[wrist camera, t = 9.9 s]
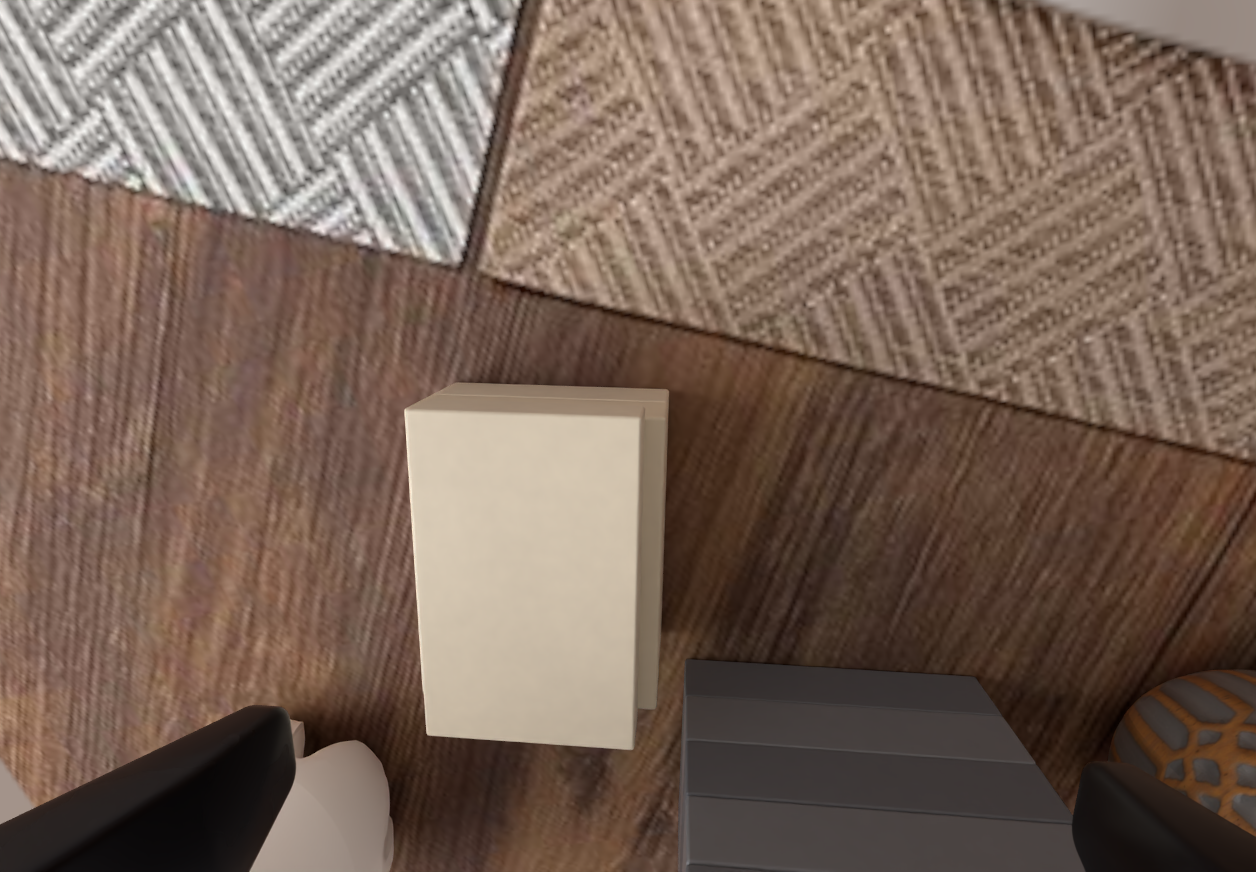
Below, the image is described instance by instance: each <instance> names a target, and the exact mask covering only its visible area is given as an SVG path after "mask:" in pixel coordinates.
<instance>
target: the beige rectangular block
mask: <svg viewBox="0 0 1256 872" xmlns="http://www.w3.org/2000/svg"><path fill="white" fill-rule="evenodd" d="M425 399H449V400H479V401H508V402H538V403H568V404H597V405H627V406H643V407H644V408H645V433H644V474H643V515H642V555H641V596H640V637H639V677H638V709H655V708H656V706H657V692H658V675H659V659H660V643H661V620H662V591H663V561H664V532H665V502H666V472H667V443H668V413H669V391H668V390H667V389H644V388H613V387H582V386H551V385H520V384H489V383H458V382H457V383H454V384H452V385H450V386H448V387H446V388H445V389H443V390H441V391H439V392H437V393H435V394H433V395H431V396H429V397H427V398H425ZM425 399H423V400H425ZM423 400H421V401H423ZM421 401H419V402H421ZM419 402H417V403H419ZM417 403H415V404H413V405H412V406H414V405H416V404H417ZM412 406H410V407H412ZM410 407H408V408H410ZM408 408H406V409H408ZM406 409H405V412H406ZM405 427H406V413H405ZM406 442H407V428H406ZM407 457H408V443H407ZM408 472H409V459H408ZM409 488H410V474H409ZM410 503H411V489H410ZM411 518H412V504H411ZM412 534H413V520H412ZM413 549H414V535H413ZM414 564H415V550H414ZM415 579H416V565H415ZM416 595H417V581H416ZM417 610H418V596H417ZM418 625H419V611H418ZM419 640H420V626H419ZM420 656H421V642H420ZM421 671H422V657H421ZM422 686H423V672H422ZM423 693H424V687H423Z"/></svg>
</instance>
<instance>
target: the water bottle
mask: <svg viewBox="0 0 1256 872" xmlns="http://www.w3.org/2000/svg"><path fill="white" fill-rule="evenodd" d="M290 721H291V729H292V736H293V744H294V751H295V759H296V775H295V779H294V783H293V786H292V788H291V790H290V792H289V794H288V796H287V798H286V800H285V802H284V804H283V806H282V808H281V810H280V812H279V814H278V816H277V818H276V820H275V822H274V824H273V826H272V828H271V830H270V832H269V834H268V836H267V838H266V840H265V842H264V844H263V846H262V848H261V850H260V852H259V854H258V856H257V858H256V860H255V862H254V864H253V866H252V868H251V870H250V872H389V871H390V868H391V864H392V861H393V852H394V838H393V832H394V828H393V822H392V819H391V817H390V816H389V811H390V794H389V787H388V781H387V778H386V776H385V773H384V769H383V766H382V763H381V762H380V760H379V759H378V758H377V757H376V755H375V754H374V753H373V752H372V751H371V750H370V749H369V748H368V747H367V746H366V745H365V744H364V743H362V742H359V741H357V740H353V741H345V742H338V743H335V744H332V745H329V746H327V747H325V748H323V749H321V750H319V751H317V752H315V753H314V754H312V755H310V756H308V757H305V758H303V755H304V746H305V731H304V723H303V722H298V721H296V720H290Z"/></svg>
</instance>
